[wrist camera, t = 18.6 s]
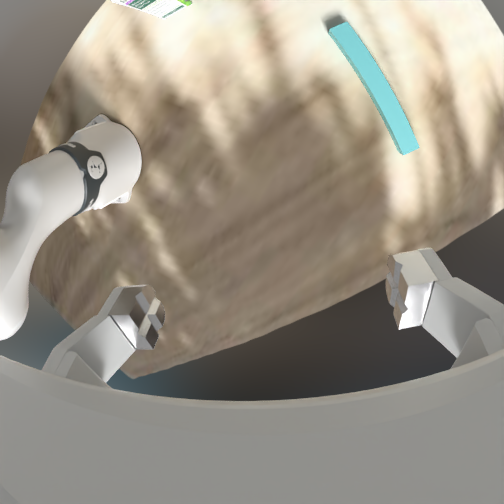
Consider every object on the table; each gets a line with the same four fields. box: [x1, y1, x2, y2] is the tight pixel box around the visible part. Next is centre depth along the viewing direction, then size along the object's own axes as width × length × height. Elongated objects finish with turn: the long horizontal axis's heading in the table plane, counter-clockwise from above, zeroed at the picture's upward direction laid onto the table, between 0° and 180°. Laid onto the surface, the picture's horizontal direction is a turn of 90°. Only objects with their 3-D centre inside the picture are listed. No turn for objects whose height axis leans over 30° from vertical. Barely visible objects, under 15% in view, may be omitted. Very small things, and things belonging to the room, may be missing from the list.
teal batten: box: [328, 22, 419, 155], centre depth 30 cm, size 21×3×3 cm, turn 35°
